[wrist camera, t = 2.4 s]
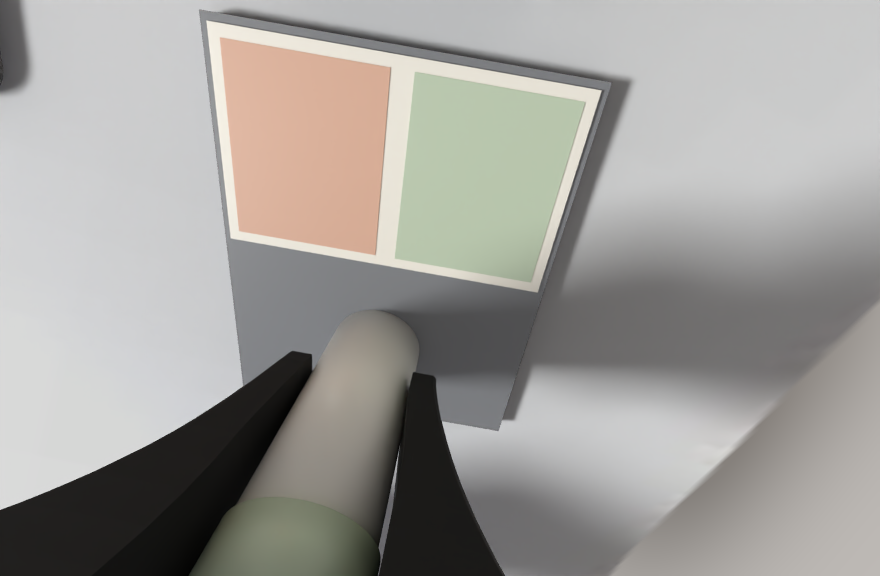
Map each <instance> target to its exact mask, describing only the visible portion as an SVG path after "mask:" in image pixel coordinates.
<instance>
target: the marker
mask: <svg viewBox="0 0 880 576" xmlns="http://www.w3.org/2000/svg"><path fill="white" fill-rule="evenodd" d="M418 357H419V343H418V339H417V337H416V335H415V333H414V331H413V330H412V329H411V327H410V326H409V325H408V324H407V323H405V322H404V321H403V320H402V319H400V318H398V317H397V316H395V315H393V314H390V313H387V312H384V311H379V310H364V311H359V312H356V313H353V314H351V315H349V316H348V317H346V318H345V319H344V320H343V321H342V322H341V323H340V325H339V326H338V328H337V329H336V331H335V333H334V335H333V336H332V338H331V340H330V342H329V343H328V345H327V347H326V349H325V350H324V352H323V354H322V356H321V357H320V359H319V361H318V363H317V364H316V366H315V368H314V370H313V371H312V373H311V375H310V377H309V378H308V380H307V382H306V384H305V385H304V387H303V389H302V391H301V392H300V394H299V396H298V397H297V399H296V401H295V403H294V404H293V406H292V408H291V410H290V411H289V413H288V415H287V417H286V418H285V420H284V422H283V424H282V425H281V427H280V429H279V431H278V432H277V434H276V436H275V438H274V439H273V441H272V443H271V445H270V446H269V448H268V450H267V452H266V453H265V455H264V457H263V459H262V460H261V462H260V464H259V466H258V467H257V469H256V471H255V473H254V474H253V476H252V478H251V480H250V481H249V483H248V485H247V487H246V488H245V490H244V492H243V494H242V495H241V497H240V499H239V501H238V502H237V504H236V505H235V506H234V507H232V508H231V509H230V510H228V511H227V512H226V514H225V515H224V516H223V518H222V519H221V521H220V523H219V525H218V526H217V528H216V530H215V531H214V533H213V535H212V536H211V538H210V540H209V542H208V543H207V545H206V547H205V548H204V550H203V552H202V553H201V555H200V557H199V559H198V560H197V562H196V564H195V565H194V567H193V569H192V571H191V572H190V574H189V576H378V572H379V567H380V552H379V549H378V547H379V542H380V537H381V532H382V528H383V523H384V518H385V513H386V509H387V504H388V499H389V495H390V490H391V485H392V480H393V476H394V471H395V466H396V461H397V457H398V452H399V447H400V442H401V438H402V433H403V425H404V417H405V410H406V404H407V397H408V391H409V386H410V382H411V378H412V374H413V372H415V371H416V367H417V362H418Z"/></svg>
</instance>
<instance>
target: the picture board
mask: <svg viewBox="0 0 880 576" xmlns="http://www.w3.org/2000/svg"><path fill="white" fill-rule="evenodd" d="M199 13H200V22H201V30H202V39H203V47H204V56H205V64H206V73H207V81H208V90H209V98H210V107H211V115H212V124H213V132H214V141H215V149H216V158H217V166H218V175H219V183H220V192H221V200H222V209H223V217H224V226H225V234H226V243H227V251H228V259H229V268H230V276H231V285H232V293H233V302H234V310H235V319H236V327H237V336H238V344H239V353H240V361H241V370H242V378H243V386H244V385H246V384H247V383H249V382H250V381H251V380H253V379H254V378H256V377H257V376H258V375H260V374H261V373H262V372H264V371H265V370H266V369H268V368H269V367H270V366H272V365H273V364H274V363H276V362H277V361H278V360H280V359H281V358H282V357H284V356H285V355H286V354H288V353H289V352H291V351H297V352H302V353H308V354H312V371H313V370H314V368H315V366H316V364H317V363H318V361H319V359H320V357H321V356H322V354H323V352H324V350H325V349H326V347H327V345H328V343H329V342H330V340H331V338H332V336H333V335H334V333H335V331H336V329H337V328H338V326H339V325H340V323H341V322H342V321H343V320H344V319H345V318H346V317H348V316H349V315H351V314H353V313H356V312H359V311H364V310H379V311H384V312H387V313H390V314H393V315H395V316H397V317H398V318H400V319H402V320H403V321H404V322H405V323H407V324H408V325H409V326H410V327H411V329H412V330H413V331H414V333H415V335H416V337H417V339H418V343H419V357H418V362H417V367H416V371H415V372H416V373H422V374H427V375H433V376H434V377H435V378H436V391H437V399H438V405H439V411H440V416H441V421H445V422H450V423H456V424H462V425H467V426H473V427H479V428H484V429H490V430H496V431H499V428H500V425H501V421H502V418H503V415H504V412H505V409H506V406H507V403H508V400H509V397H510V394H511V391H512V388H513V385H514V382H515V378H516V375H517V372H518V369H519V366H520V363H521V360H522V357H523V354H524V351H525V348H526V345H527V342H528V339H529V336H530V332H531V329H532V326H533V323H534V320H535V317H536V314H537V311H538V308H539V305H540V302H541V299H542V296H543V293H544V289H545V286H546V283H547V280H548V277H549V274H550V271H551V268H552V265H553V262H554V259H555V256H556V253H557V250H558V246H559V243H560V240H561V237H562V234H563V231H564V228H565V225H566V222H567V219H568V216H569V213H570V210H571V207H572V204H573V200H574V197H575V194H576V191H577V188H578V185H579V182H580V179H581V176H582V173H583V170H584V167H585V164H586V161H587V157H588V154H589V151H590V148H591V145H592V142H593V139H594V136H595V133H596V130H597V127H598V124H599V121H600V118H601V115H602V111H603V108H604V105H605V102H606V99H607V96H608V93H609V90H610V87H611V84H612V82H606V81H600V80H595V79H589V78H583V77H578V76H572V75H566V74H561V73H555V72H549V71H544V70H538V69H532V68H527V67H521V66H516V65H510V64H504V63H499V62H493V61H487V60H482V59H476V58H470V57H465V56H459V55H453V54H448V53H442V52H437V51H431V50H425V49H420V48H414V47H408V46H403V45H397V44H391V43H386V42H380V41H374V40H369V39H363V38H357V37H352V36H346V35H341V34H335V33H329V32H324V31H318V30H312V29H307V28H301V27H295V26H290V25H284V24H278V23H273V22H267V21H261V20H256V19H250V18H245V17H239V16H233V15H228V14H222V13H216V12H211V11H205V10H199Z"/></svg>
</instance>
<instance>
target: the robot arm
mask: <svg viewBox="0 0 880 576" xmlns="http://www.w3.org/2000/svg"><path fill="white" fill-rule="evenodd" d="M311 373H312V354H308V353H302V352H297V351H291V352H289V353H288V354H286V355H285V356H284V357H282V358H281V359H280V360H278V361H277V362H276V363H274V364H273V365H272V366H270V367H269V368H268V369H266V370H265V371H264V372H262V373H261V374H260V375H258V376H257V377H256V378H254V379H253V380H251V381H250V382H249V383H247V384H246V385H244V386H243V387H242V388H240V389H239V390H237V391H236V392H234V393H233V394H232V395H230V396H229V397H227V398H226V399H224V400H223V401H221V402H220V403H218V404H217V405H215V406H214V407H212V408H211V409H209V410H207V411H206V412H204V413H203V414H201V415H200V416H198V417H197V418H195V419H193V420H192V421H190V422H188V423H187V424H185V425H183V426H182V427H180V428H178V429H177V430H175V431H173V432H171V433H170V434H168V435H166V436H164V437H162V438H160V439H159V440H157V441H155V442H153V443H151V444H149V445H147V446H146V447H144V448H142V449H139V450H137V451H135V452H133V453H131V454H129V455H127V456H125V457H123V458H121V459H119V460H117V461H115V462H113V463H111V464H109V465H107V466H105V467H103V468H101V469H98V470H96V471H94V472H92V473H90V474H87V475H85V476H83V477H81V478H78V479H76V480H74V481H71V482H69V483H67V484H64V485H62V486H60V487H57V488H55V489H53V490H50V491H48V492H45V493H43V494H41V495H38V496H36V497H33V498H31V499H28V500H26V501H23V502H20V503H18V504H15V505H12V506H10V507H7V508H4V509H2V510H0V576H189V574H190V572H191V571H192V569H193V567H194V565H195V564H196V562H197V560H198V559H199V557H200V555H201V553H202V552H203V550H204V548H205V547H206V545H207V543H208V542H209V540H210V538H211V536H212V535H213V533H214V531H215V530H216V528H217V526H218V525H219V523H220V521H221V519H222V518H223V516H224V515H225V514H226V512H227V511H228V510H230V509H231V508H232V507H234V506H235V505H236V504H237V502H238V501H239V499H240V497H241V495H242V494H243V492H244V490H245V488H246V487H247V485H248V483H249V481H250V480H251V478H252V476H253V474H254V473H255V471H256V469H257V467H258V466H259V464H260V462H261V460H262V459H263V457H264V455H265V453H266V452H267V450H268V448H269V446H270V445H271V443H272V441H273V439H274V438H275V436H276V434H277V432H278V431H279V429H280V427H281V425H282V424H283V422H284V420H285V418H286V417H287V415H288V413H289V411H290V410H291V408H292V406H293V404H294V403H295V401H296V399H297V397H298V396H299V394H300V392H301V391H302V389H303V387H304V385H305V384H306V382H307V380H308V378H309V377H310V375H311ZM379 576H505V575H504V573H503V571H502V569H501V568H500V566H499V564H498V562H497V560H496V559H495V557H494V555H493V553H492V551H491V549H490V547H489V545H488V543H487V541H486V539H485V537H484V535H483V533H482V531H481V529H480V527H479V525H478V523H477V521H476V518H475V516H474V514H473V511H472V509H471V507H470V505H469V502H468V500H467V498H466V495H465V493H464V490H463V488H462V485H461V483H460V480H459V477H458V475H457V472H456V469H455V466H454V463H453V460H452V457H451V454H450V451H449V447H448V444H447V440H446V436H445V433H444V429H443V425H442V421H441V416H440V411H439V405H438V399H437V391H436V378H435V377H434V376H433V375H427V374H422V373H416V372H413V374H412V378H411V382H410V386H409V391H408V397H407V404H406V410H405V417H404V425H403V433H402V438H401V442H400V449H399V456H398V465H397V474H396V484H395V493H394V502H393V510H392V515H391V520H390V524H389V529H388V534H387V539H386V544H385V549H384V554H383V559H382V563H381V568H380V573H379Z"/></svg>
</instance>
